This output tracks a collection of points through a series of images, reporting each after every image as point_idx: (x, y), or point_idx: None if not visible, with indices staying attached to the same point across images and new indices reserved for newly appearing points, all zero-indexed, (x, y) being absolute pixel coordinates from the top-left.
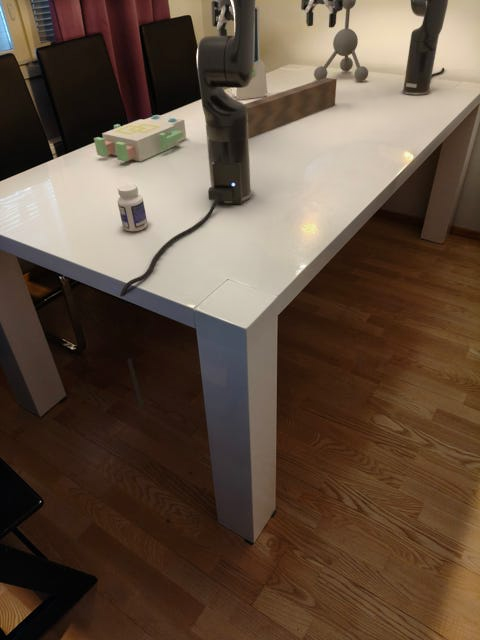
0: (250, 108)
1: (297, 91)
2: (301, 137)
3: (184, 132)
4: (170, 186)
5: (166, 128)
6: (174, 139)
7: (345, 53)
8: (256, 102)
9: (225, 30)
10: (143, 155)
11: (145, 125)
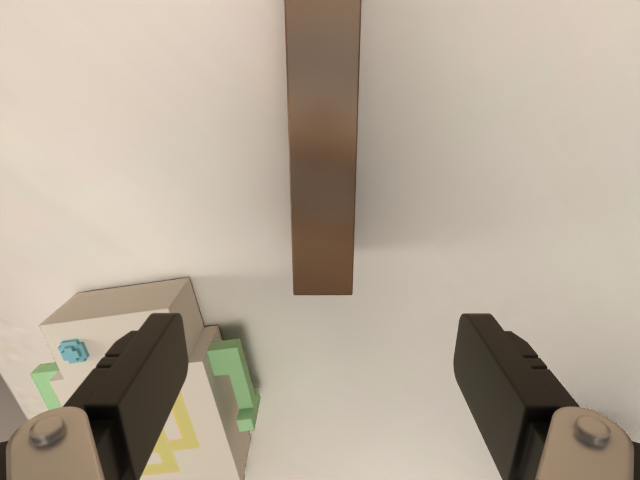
0: (356, 149)
1: None
2: (513, 16)
3: (183, 292)
4: (420, 472)
5: (209, 392)
6: (248, 373)
7: None
8: (318, 59)
9: (128, 414)
10: (246, 438)
11: None
